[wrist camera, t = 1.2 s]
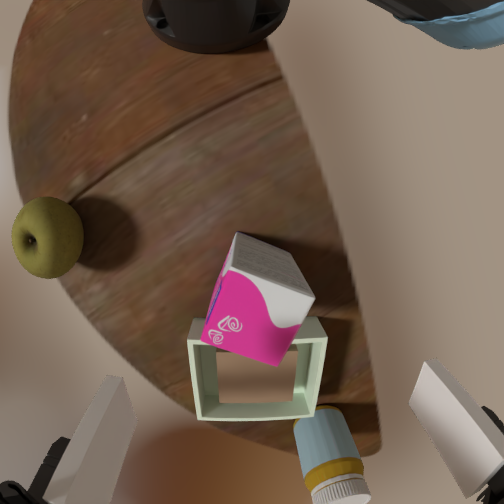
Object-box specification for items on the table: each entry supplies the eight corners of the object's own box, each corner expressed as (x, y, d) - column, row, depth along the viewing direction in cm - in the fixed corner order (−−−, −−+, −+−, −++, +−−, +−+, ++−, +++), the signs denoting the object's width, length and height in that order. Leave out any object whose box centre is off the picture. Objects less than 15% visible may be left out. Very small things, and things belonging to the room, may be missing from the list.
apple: (80, 181, 26) (40, 184, 19) (106, 252, 27) (72, 272, 21) (35, 210, 26) (-6, 220, 19) (59, 274, 28) (23, 296, 21)
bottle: (342, 397, 33) (380, 484, 19) (340, 428, 35) (369, 507, 21) (290, 408, 33) (311, 503, 19) (294, 438, 35) (311, 523, 21)
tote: (193, 317, 30) (187, 339, 25) (316, 316, 30) (327, 337, 26) (201, 394, 32) (197, 419, 28) (306, 392, 33) (313, 416, 28)
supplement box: (234, 229, 27) (231, 262, 16) (291, 252, 28) (322, 297, 17) (212, 282, 29) (198, 343, 18) (267, 303, 29) (282, 370, 18)
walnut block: (217, 336, 30) (215, 352, 27) (293, 335, 30) (298, 350, 27) (220, 386, 31) (219, 402, 28) (288, 384, 32) (292, 401, 29)
